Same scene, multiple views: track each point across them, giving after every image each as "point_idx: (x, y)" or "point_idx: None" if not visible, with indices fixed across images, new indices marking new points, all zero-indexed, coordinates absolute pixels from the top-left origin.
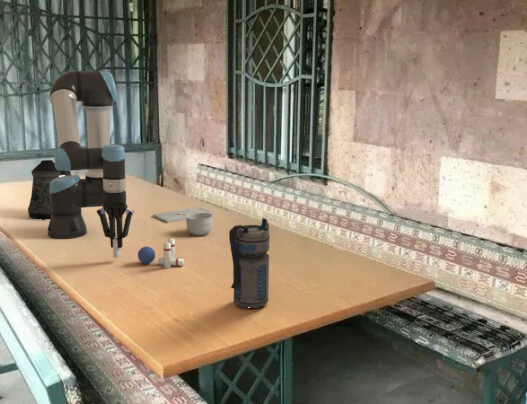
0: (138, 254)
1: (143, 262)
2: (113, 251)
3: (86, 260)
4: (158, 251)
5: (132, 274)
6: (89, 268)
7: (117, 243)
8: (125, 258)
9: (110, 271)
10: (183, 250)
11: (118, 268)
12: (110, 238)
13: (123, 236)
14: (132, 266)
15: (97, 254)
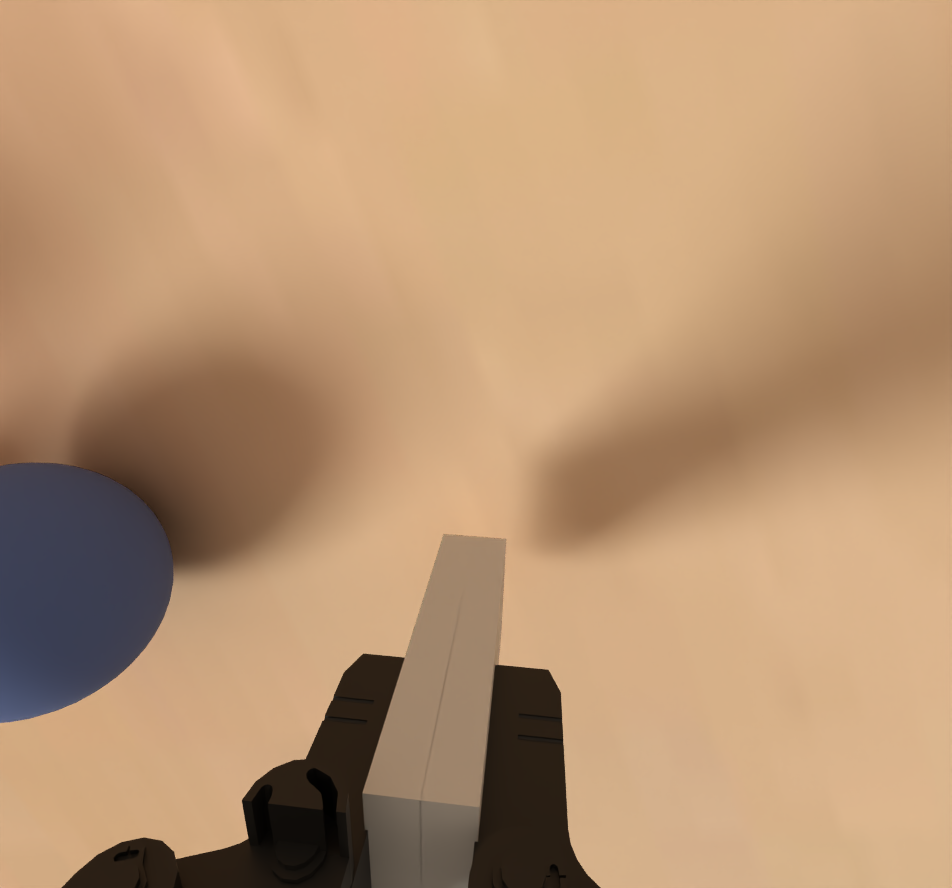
0: (79, 539)
1: (89, 470)
2: (496, 595)
3: (913, 550)
4: (205, 851)
5: (43, 41)
6: (794, 206)
7: (389, 720)
8: None
9: (415, 119)
10: (19, 875)
11: (358, 285)
12: (552, 848)
13: (110, 885)
14: (220, 396)
15: (806, 758)
